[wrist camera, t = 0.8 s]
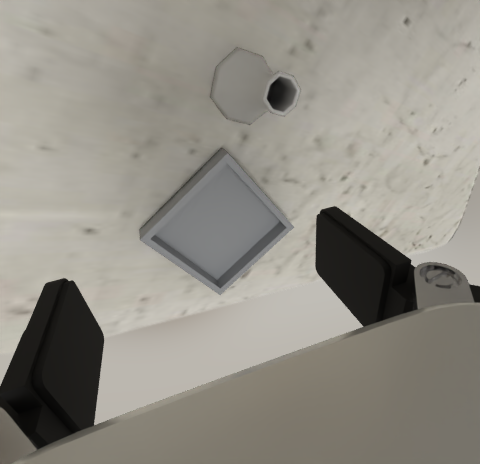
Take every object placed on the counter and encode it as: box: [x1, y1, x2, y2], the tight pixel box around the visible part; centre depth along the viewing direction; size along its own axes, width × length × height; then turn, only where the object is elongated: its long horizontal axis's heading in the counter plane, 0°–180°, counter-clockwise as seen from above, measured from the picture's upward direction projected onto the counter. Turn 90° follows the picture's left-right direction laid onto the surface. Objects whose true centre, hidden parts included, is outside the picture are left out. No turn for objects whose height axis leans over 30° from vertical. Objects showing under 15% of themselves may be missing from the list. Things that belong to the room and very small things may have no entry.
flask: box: [210, 47, 301, 125], centre depth 27 cm, size 7×7×10 cm
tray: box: [140, 148, 294, 295], centre depth 37 cm, size 14×14×3 cm
